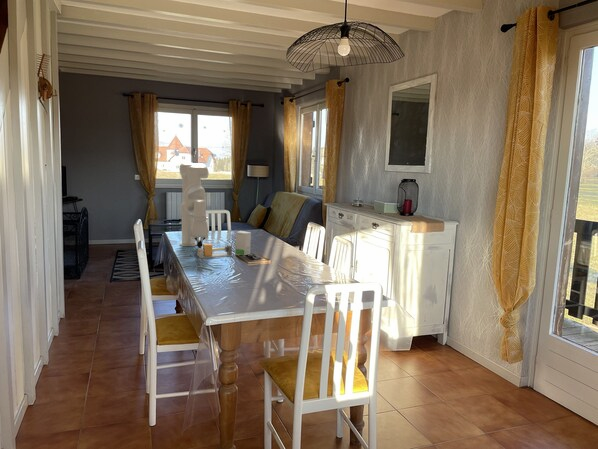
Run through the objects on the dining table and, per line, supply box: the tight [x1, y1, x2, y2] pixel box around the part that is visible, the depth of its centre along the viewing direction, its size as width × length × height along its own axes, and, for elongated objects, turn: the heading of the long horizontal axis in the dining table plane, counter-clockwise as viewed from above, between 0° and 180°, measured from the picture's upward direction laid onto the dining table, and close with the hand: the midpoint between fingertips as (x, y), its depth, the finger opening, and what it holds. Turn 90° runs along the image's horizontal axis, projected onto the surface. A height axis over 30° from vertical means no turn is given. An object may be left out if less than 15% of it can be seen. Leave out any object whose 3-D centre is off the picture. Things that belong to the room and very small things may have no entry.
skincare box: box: [234, 230, 252, 256], centre depth 296 cm, size 8×7×16 cm
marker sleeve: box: [202, 243, 213, 256], centre depth 290 cm, size 5×5×7 cm
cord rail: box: [196, 244, 234, 259], centre depth 292 cm, size 10×22×6 cm, turn 115°
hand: (199, 247), depth 287 cm, fingers closed
